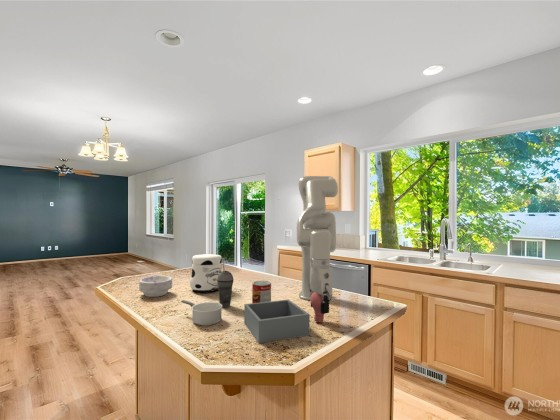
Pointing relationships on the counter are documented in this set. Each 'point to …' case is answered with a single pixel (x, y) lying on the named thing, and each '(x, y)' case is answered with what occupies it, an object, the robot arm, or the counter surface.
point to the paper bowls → (155, 285)
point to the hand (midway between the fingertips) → (319, 309)
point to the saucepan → (205, 312)
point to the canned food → (261, 291)
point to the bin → (276, 320)
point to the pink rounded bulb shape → (317, 306)
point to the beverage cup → (225, 287)
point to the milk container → (205, 272)
